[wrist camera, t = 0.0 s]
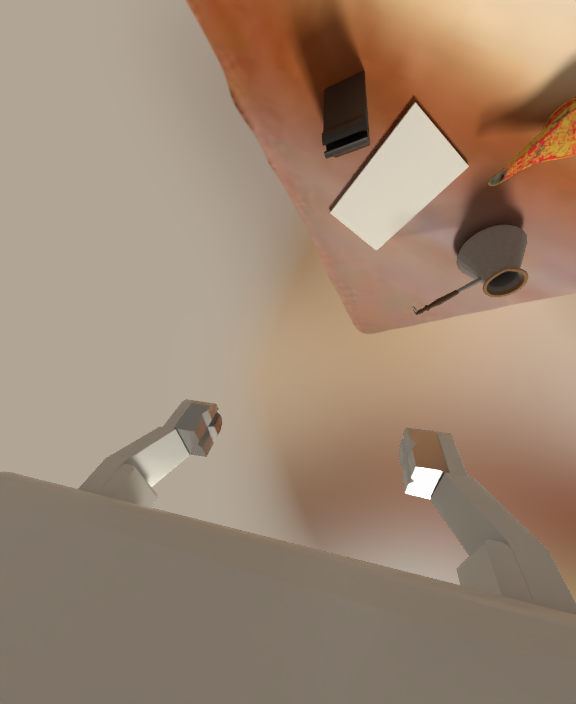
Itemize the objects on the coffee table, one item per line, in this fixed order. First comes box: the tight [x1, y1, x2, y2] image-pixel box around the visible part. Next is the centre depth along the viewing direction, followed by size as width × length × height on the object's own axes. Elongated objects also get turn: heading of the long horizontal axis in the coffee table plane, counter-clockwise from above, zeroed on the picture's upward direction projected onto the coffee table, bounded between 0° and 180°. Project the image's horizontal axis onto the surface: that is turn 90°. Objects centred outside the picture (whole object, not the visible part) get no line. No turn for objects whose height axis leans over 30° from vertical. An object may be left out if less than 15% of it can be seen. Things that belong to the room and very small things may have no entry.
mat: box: [330, 102, 469, 250], centre depth 47 cm, size 20×14×1 cm
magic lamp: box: [488, 98, 576, 186], centre depth 34 cm, size 7×18×11 cm, turn 127°
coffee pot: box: [412, 225, 528, 315], centre depth 50 cm, size 21×12×15 cm, turn 123°
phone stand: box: [322, 71, 370, 159], centre depth 37 cm, size 9×6×12 cm, turn 20°
